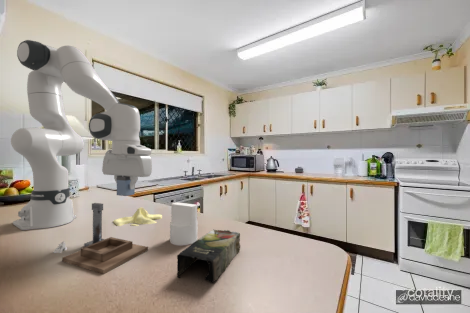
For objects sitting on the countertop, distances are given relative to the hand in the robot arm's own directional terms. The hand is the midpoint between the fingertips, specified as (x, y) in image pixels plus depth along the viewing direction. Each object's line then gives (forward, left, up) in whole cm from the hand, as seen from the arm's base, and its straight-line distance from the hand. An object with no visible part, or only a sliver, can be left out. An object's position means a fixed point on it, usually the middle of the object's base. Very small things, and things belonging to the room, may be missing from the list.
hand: (125, 188), depth 76 cm
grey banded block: (0, 0, -2) cm, 2 cm away
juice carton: (+37, -4, -17) cm, 41 cm away
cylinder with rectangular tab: (+21, +5, -17) cm, 28 cm away
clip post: (-2, -9, -17) cm, 19 cm away
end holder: (+8, -13, -17) cm, 23 cm away
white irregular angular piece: (-8, -17, -17) cm, 25 cm away
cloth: (-9, +16, -18) cm, 25 cm away
